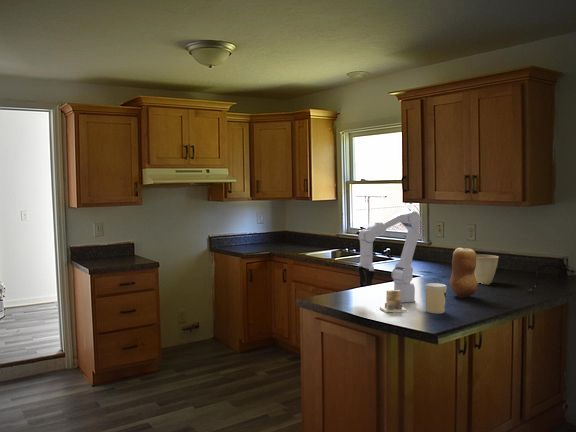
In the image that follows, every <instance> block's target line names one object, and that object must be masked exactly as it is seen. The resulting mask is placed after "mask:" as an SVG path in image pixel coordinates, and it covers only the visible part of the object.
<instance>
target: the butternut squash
mask: <svg viewBox="0 0 576 432" xmlns="http://www.w3.org/2000/svg"><path fill="white" fill-rule="evenodd" d="M476 255H477V253H476V251H475V250H474V249H472V248H465V247H464V248H463V247H457V248H456V249H455V250H454V251H453V252H452V260H451V275H450V279H449V286H450V288H451V290H452V291H453V293H454V295H455V296H456V297H457V298H459V299H464V298H469V297H470V296H472V295H474V294H475V293H476V292H477V290H478V283H477V280H476V277H475V274H474V272H475V268H476Z"/></svg>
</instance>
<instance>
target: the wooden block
mask: <svg viewBox="0 0 576 432" xmlns="http://www.w3.org/2000/svg"><path fill="white" fill-rule="evenodd" d="M385 300H386V302H385V303H386V308H387V309H389V305H394V309H397V305H402V304H401V303H402V302H401V291H400V290H394V289H393V290H389V289H388V290H386V299H385Z"/></svg>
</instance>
